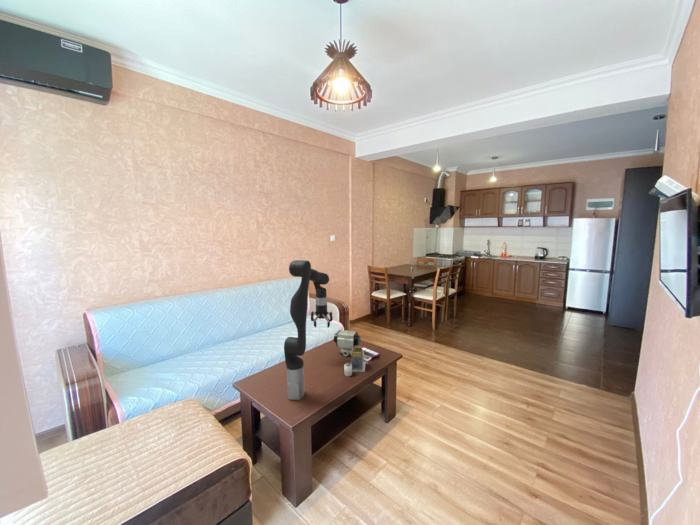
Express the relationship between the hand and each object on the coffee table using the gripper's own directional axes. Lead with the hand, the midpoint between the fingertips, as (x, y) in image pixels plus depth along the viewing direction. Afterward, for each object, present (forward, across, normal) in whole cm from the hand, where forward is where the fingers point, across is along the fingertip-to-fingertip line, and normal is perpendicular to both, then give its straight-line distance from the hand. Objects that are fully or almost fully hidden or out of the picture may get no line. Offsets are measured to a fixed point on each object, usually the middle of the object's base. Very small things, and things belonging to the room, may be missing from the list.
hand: (321, 327), depth 197 cm
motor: (+25, +24, -5) cm, 35 cm away
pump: (+25, +19, -14) cm, 34 cm away
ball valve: (+25, +15, +12) cm, 32 cm away
